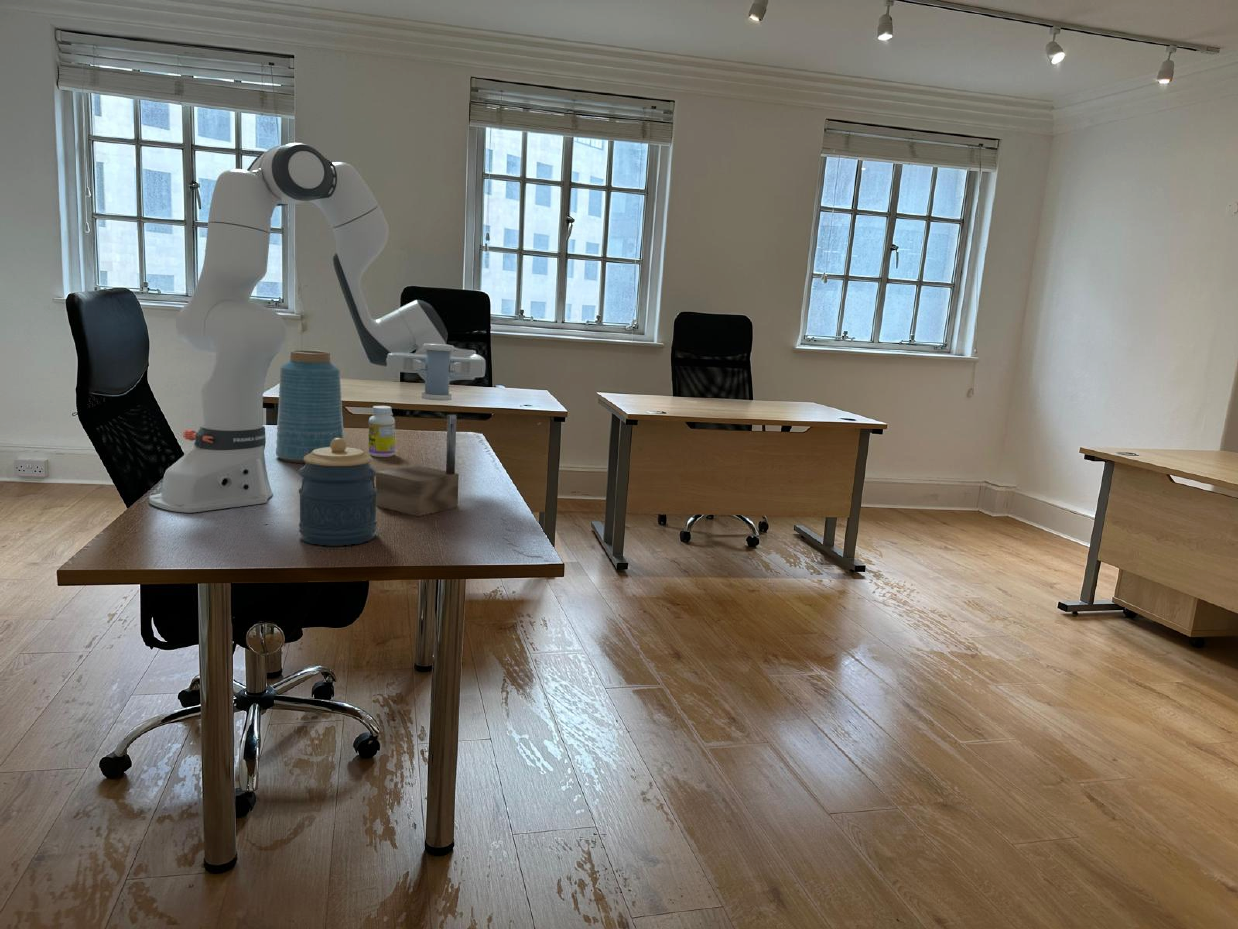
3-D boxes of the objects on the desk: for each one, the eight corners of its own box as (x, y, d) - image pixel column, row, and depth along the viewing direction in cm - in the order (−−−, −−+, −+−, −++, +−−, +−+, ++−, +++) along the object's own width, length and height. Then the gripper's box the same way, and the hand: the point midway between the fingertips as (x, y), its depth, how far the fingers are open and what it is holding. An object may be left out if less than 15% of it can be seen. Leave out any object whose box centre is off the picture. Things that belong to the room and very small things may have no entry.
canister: (333, 523, 156) (333, 429, 153) (391, 534, 152) (392, 437, 149) (282, 539, 144) (280, 438, 141) (343, 552, 140) (344, 447, 137)
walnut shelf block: (418, 516, 165) (419, 481, 163) (375, 505, 171) (376, 471, 169) (457, 507, 174) (458, 473, 172) (415, 497, 180) (416, 464, 179)
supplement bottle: (366, 453, 223) (366, 405, 221) (391, 452, 226) (392, 405, 224) (371, 458, 218) (371, 408, 215) (397, 457, 221) (397, 408, 218)
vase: (274, 452, 216) (272, 347, 211) (340, 451, 223) (340, 350, 218) (277, 465, 202) (276, 353, 197) (348, 463, 209) (349, 355, 204)
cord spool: (437, 401, 169) (439, 345, 167) (415, 397, 172) (417, 343, 170) (457, 399, 174) (459, 346, 172) (436, 396, 177) (438, 343, 175)
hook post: (447, 478, 167) (448, 418, 165) (445, 472, 173) (447, 414, 171) (456, 478, 168) (458, 419, 165) (454, 472, 173) (456, 414, 171)
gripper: (386, 344, 181) (385, 348, 167) (482, 350, 186) (488, 354, 173) (385, 374, 182) (384, 379, 169) (481, 379, 187) (487, 385, 174)
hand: (437, 367), depth 171 cm, fingers closed on cord spool, 5 cm apart
